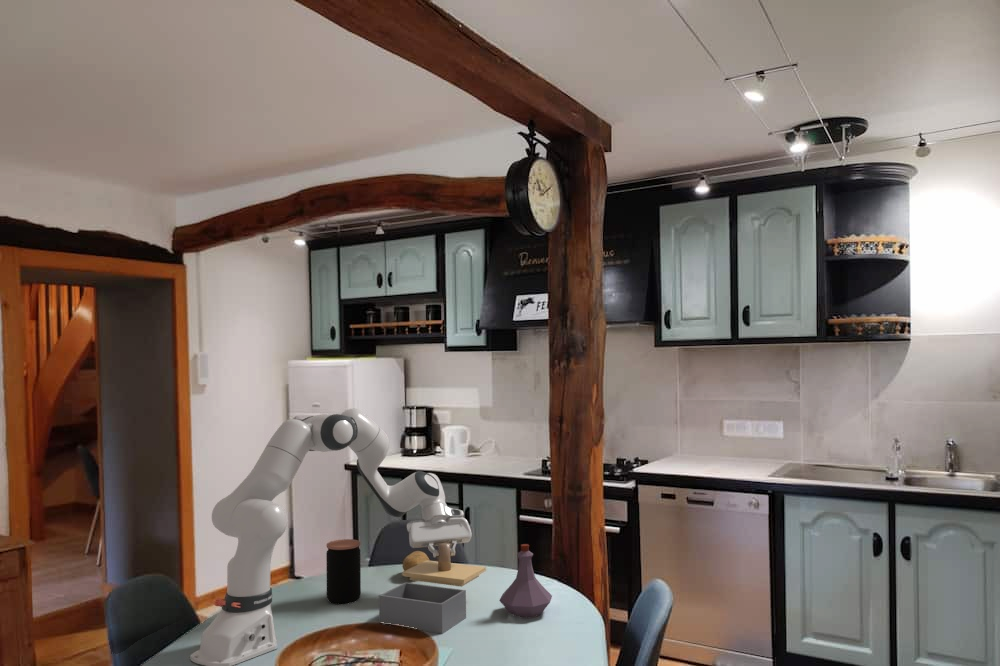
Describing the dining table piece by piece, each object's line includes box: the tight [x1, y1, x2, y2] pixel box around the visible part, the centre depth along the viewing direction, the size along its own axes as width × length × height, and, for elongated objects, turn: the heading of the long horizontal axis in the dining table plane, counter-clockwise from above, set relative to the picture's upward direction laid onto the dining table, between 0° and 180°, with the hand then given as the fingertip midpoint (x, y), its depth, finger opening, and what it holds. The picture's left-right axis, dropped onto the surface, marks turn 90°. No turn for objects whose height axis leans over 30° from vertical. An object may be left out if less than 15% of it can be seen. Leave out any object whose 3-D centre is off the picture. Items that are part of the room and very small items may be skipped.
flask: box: [499, 543, 553, 618], centre depth 217 cm, size 16×16×20 cm
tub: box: [378, 581, 467, 635], centre depth 211 cm, size 14×21×8 cm, turn 65°
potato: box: [402, 550, 431, 571], centre depth 256 cm, size 10×14×8 cm
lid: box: [401, 542, 487, 588], centre depth 229 cm, size 15×22×11 cm
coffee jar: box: [325, 538, 362, 605], centre depth 232 cm, size 11×11×18 cm
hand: (444, 555), depth 229 cm, fingers closed on lid, 4 cm apart
